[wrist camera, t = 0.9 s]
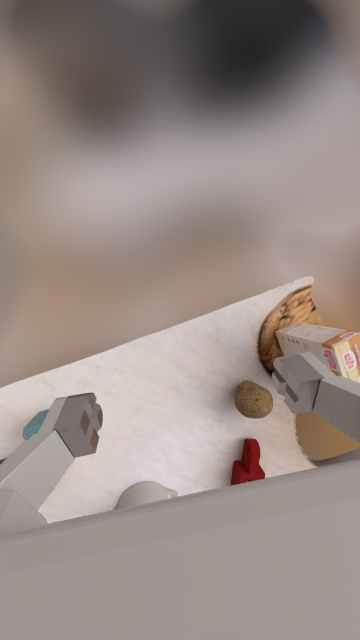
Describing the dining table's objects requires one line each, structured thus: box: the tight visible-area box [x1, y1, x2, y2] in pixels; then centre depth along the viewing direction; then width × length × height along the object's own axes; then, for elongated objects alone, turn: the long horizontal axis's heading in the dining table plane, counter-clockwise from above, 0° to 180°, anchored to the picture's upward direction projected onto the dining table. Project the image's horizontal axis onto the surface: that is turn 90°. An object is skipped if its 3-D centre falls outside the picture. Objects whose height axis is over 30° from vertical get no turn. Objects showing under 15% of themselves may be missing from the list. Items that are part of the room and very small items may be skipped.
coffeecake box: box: [275, 322, 360, 383], centre depth 52 cm, size 15×7×20 cm, turn 24°
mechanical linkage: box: [231, 439, 265, 486], centre depth 61 cm, size 16×7×5 cm, turn 174°
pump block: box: [23, 409, 50, 440], centre depth 50 cm, size 5×6×7 cm
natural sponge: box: [235, 380, 273, 418], centre depth 56 cm, size 9×9×10 cm
